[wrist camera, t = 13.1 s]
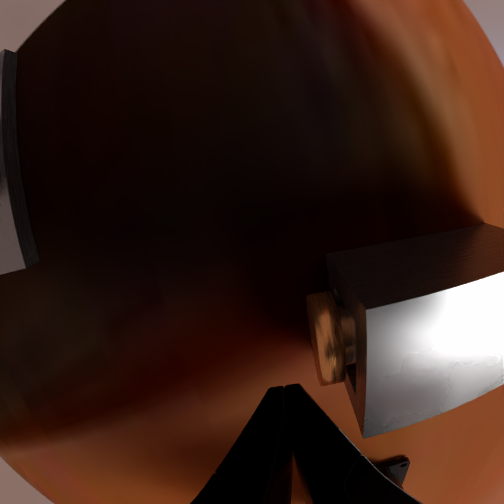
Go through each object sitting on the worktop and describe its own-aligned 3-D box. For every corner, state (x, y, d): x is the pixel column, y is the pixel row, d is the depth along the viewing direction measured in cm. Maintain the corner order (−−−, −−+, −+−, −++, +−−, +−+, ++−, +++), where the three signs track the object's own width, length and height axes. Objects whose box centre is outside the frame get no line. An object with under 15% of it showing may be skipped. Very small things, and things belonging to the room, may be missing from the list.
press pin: (476, 309, 12) (515, 340, 8) (312, 352, 12) (324, 405, 9) (481, 244, 11) (528, 265, 8) (302, 281, 12) (316, 322, 8)
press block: (479, 314, 12) (537, 363, 7) (335, 356, 13) (362, 438, 8) (485, 223, 11) (561, 249, 6) (325, 253, 12) (366, 309, 7)
